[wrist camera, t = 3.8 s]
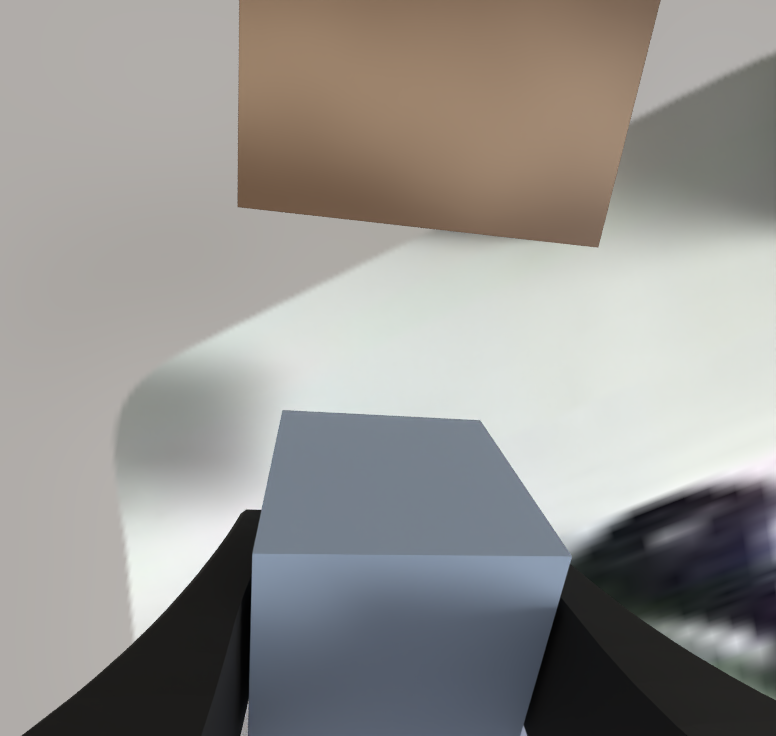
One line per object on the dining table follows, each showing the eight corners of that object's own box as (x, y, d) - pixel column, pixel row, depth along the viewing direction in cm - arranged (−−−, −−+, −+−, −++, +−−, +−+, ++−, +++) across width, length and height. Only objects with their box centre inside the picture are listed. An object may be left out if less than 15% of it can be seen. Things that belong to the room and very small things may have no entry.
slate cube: (450, 575, 14) (511, 765, 9) (275, 575, 13) (247, 780, 9) (479, 420, 12) (571, 556, 8) (282, 410, 12) (252, 554, 7)
